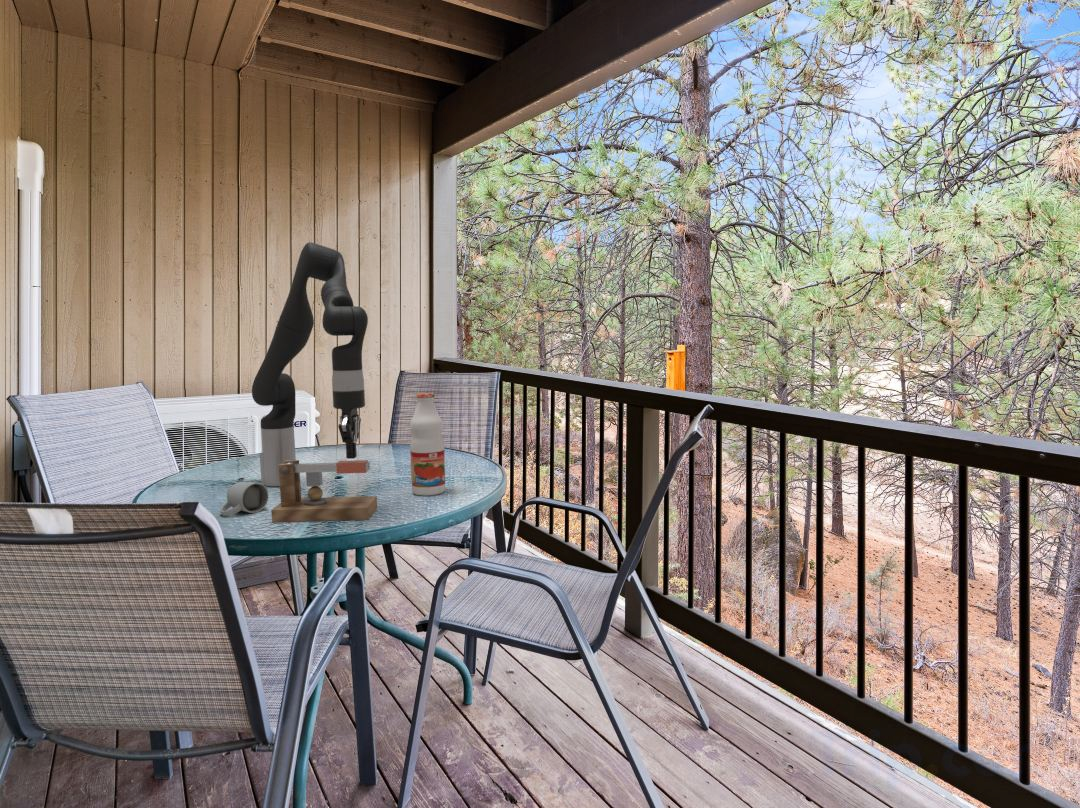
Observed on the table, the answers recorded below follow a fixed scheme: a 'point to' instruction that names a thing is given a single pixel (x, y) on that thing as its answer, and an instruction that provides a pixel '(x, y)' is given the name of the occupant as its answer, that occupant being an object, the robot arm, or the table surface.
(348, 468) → the lever
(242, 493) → the ceramic mug
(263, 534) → the table surface
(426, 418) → the fruit juice
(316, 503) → the base
